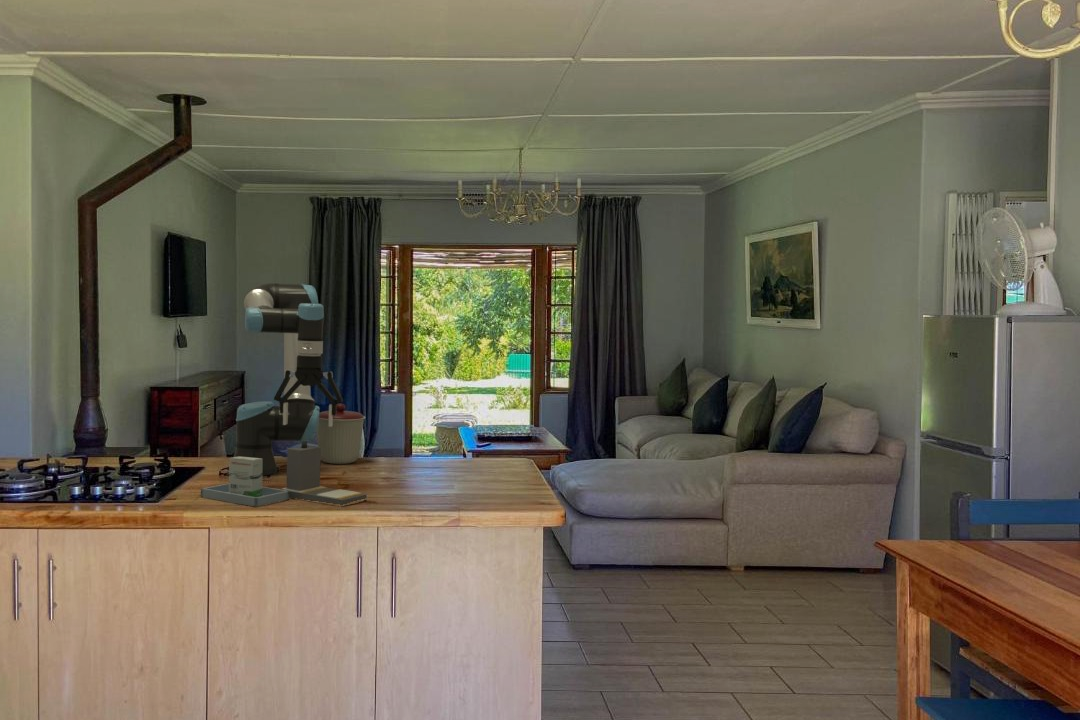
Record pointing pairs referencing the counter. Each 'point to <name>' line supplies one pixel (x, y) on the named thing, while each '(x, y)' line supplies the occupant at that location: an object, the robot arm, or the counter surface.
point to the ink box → (245, 476)
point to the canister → (340, 436)
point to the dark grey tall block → (303, 467)
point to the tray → (223, 495)
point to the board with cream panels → (327, 495)
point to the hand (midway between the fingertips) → (307, 425)
